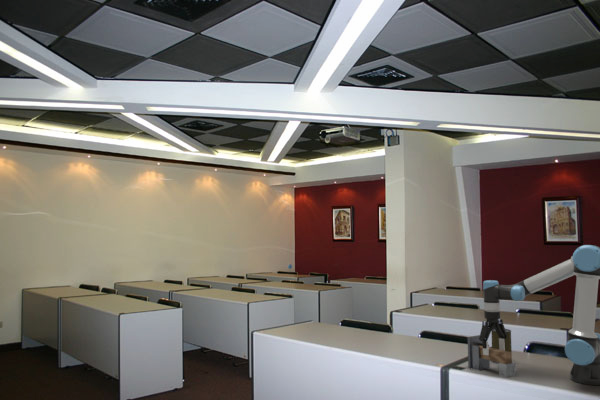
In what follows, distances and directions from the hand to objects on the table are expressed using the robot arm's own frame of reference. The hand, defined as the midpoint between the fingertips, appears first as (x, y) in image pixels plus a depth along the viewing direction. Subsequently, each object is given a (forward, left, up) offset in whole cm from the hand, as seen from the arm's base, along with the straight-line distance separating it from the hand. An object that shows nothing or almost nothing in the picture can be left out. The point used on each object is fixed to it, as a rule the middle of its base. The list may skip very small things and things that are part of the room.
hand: (494, 353), depth 237 cm
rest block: (-7, 0, -9) cm, 12 cm away
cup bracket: (+9, 0, -9) cm, 13 cm away
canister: (+10, -22, -9) cm, 26 cm away
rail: (+1, 0, -3) cm, 3 cm away
